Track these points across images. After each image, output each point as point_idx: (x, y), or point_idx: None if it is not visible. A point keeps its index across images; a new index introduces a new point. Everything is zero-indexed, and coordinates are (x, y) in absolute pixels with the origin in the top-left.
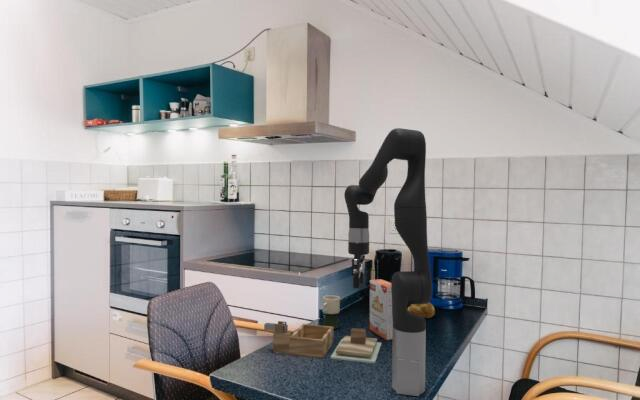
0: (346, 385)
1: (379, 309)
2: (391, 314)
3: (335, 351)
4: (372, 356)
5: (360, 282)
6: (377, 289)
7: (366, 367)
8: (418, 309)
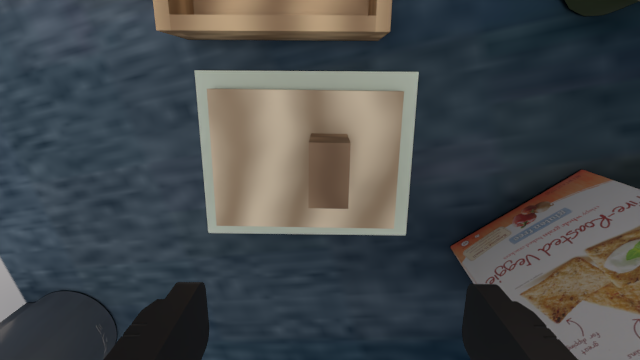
0: (10, 170)
1: (563, 276)
2: None
3: (257, 77)
4: None
5: (469, 323)
6: None
7: (167, 208)
8: None
